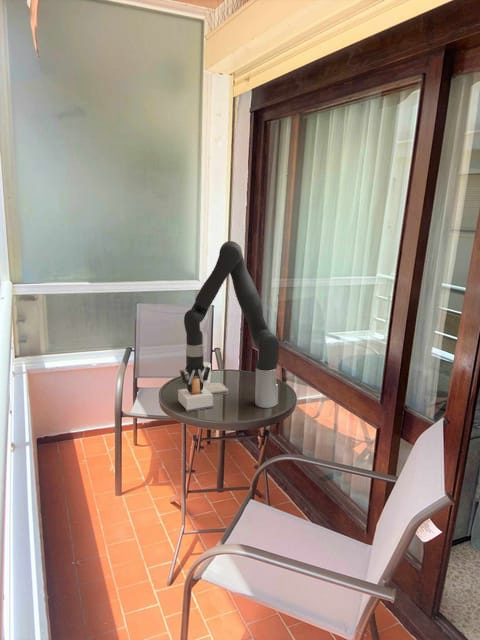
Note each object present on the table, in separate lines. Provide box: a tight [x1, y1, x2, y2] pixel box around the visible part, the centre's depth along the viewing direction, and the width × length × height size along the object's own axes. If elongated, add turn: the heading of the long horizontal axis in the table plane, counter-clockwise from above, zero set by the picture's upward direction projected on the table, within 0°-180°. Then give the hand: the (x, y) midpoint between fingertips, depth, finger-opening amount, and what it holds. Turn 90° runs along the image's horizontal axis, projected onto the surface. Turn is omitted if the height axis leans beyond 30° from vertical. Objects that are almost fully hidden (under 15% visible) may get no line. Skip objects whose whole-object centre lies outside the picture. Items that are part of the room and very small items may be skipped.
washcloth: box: [203, 381, 229, 397], centre depth 231 cm, size 12×18×3 cm, turn 112°
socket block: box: [177, 386, 214, 412], centre depth 215 cm, size 12×12×6 cm
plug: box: [191, 376, 200, 395], centre depth 214 cm, size 4×4×10 cm
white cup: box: [202, 361, 212, 384], centre depth 242 cm, size 8×8×10 cm
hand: (195, 390), depth 214 cm, fingers open, 4 cm apart
